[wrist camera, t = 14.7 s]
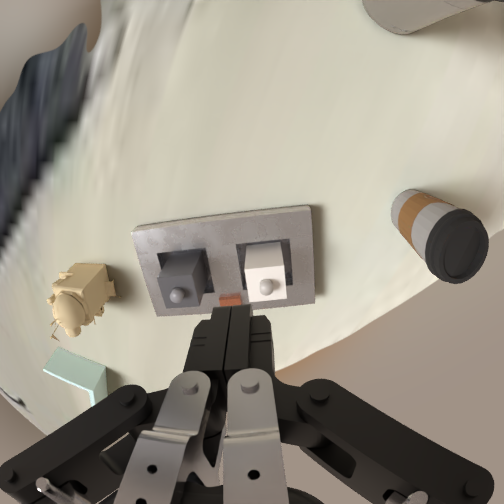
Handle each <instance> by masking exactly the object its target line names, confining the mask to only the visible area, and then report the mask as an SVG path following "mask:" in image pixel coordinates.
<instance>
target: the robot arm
mask: <svg viewBox="0 0 504 504" xmlns="http://www.w3.org/2000/svg"><path fill="white" fill-rule="evenodd" d="M491 1H499V2H504V0H362V2H363V5H364V8H365V10H366V11H367V13H368V14H369V16H370V17H371V18H372V19H373V20H374V21H375V22H376V23H377V24H378V25H380V26H381V27H383V28H384V29H386V30H388V31H391V32H393V33H397V34H409V33H412V32H415V31H418V30H419V29H421V28H424V27H426V26H428V25H431V24H433V23H435V22H438V21H440V20H443V19H445V18H448V17H450V16H453V15H455V14H458V13H460V12H463V11H466V10H468V9H471V8H474V7H477V6H479V5H482V4H485V3H488V2H491ZM226 412H228V433H227V436H225V435H226V429H227V428H226V424H225V420H226ZM127 432H129V434H128V435H127V436H126V437H124V438H123V439H122V440H120V441H119V442H117V443H116V444H115V445H113V446H112V447H110V448H109V449H107V450H106V451H102V450H103V449H105V448H106V447H108V446H109V445H111V444H112V443H113V442H115V441H116V440H118V439H119V438H120V437H122V436H123V435H125V434H126V433H127ZM281 442H282V443H286V444H291V445H297V446H299V447H300V449H301V450H302V451H303V452H305V453H306V454H307V455H308V456H310V457H311V458H312V459H313V460H314V461H316V462H317V463H318V464H319V465H321V466H322V467H323V468H325V469H326V470H327V471H328V472H330V473H331V474H332V475H334V476H335V477H336V478H338V479H339V480H340V481H342V482H343V483H344V484H346V485H347V486H348V487H350V488H351V489H353V490H354V491H355V492H357V493H358V494H360V495H361V496H362V497H364V498H365V499H367V500H368V501H370V502H371V503H373V504H487V503H488V501H489V499H490V498H491V496H492V494H493V491H494V480H493V478H492V475H491V474H490V472H489V471H488V470H486V469H485V468H483V467H481V466H479V465H477V464H475V463H473V462H471V461H469V460H467V459H465V458H463V457H461V456H459V455H457V454H455V453H453V452H451V451H450V450H448V449H446V448H444V447H442V446H440V445H438V444H437V443H435V442H433V441H431V440H429V439H427V438H426V437H424V436H422V435H420V434H418V433H417V432H415V431H413V430H412V429H410V428H408V427H407V426H405V425H403V424H401V423H400V422H398V421H396V420H395V419H393V418H391V417H390V416H388V415H386V414H385V413H383V412H381V411H380V410H378V409H376V408H375V407H373V406H371V405H370V404H368V403H367V402H365V401H363V400H362V399H360V398H359V397H357V396H355V395H354V394H352V393H351V392H349V391H347V390H346V389H344V388H343V387H341V386H340V385H338V384H337V383H335V382H333V381H331V380H327V379H314V380H311V381H308V382H306V383H304V384H303V385H302V386H301V387H297V386H291V385H287V384H284V383H282V382H281V381H279V380H278V379H277V378H276V377H275V364H274V348H273V339H272V331H271V323H270V321H269V320H268V319H267V317H266V316H265V315H260V316H253V311H252V305H251V304H243V305H233V306H220V307H213V311H212V315H211V320H201V322H200V323H199V324H198V325H197V326H196V327H195V329H194V333H193V336H192V340H191V343H190V347H189V351H188V355H187V358H186V362H185V366H184V370H183V373H181V374H179V375H178V376H176V377H175V378H174V379H173V380H172V382H171V383H170V386H169V388H167V389H164V390H161V391H156V392H152V393H146V391H145V390H144V389H143V388H142V387H141V386H138V385H126V386H123V387H121V388H119V389H117V390H116V391H114V392H113V393H111V394H110V395H109V396H107V397H106V398H104V399H103V400H101V401H100V402H98V403H97V404H95V405H94V406H92V407H91V408H89V409H88V410H86V411H85V412H83V413H82V414H80V415H79V416H77V417H76V418H74V419H73V420H71V421H70V422H68V423H67V424H65V425H64V426H62V427H60V428H59V429H57V430H56V431H54V432H53V433H51V434H50V435H48V436H47V437H45V438H43V439H42V440H40V441H39V442H37V443H35V444H34V445H32V446H31V447H29V448H28V449H26V450H24V451H23V452H21V453H19V454H18V455H16V456H15V457H13V458H11V459H10V460H8V461H6V462H5V463H4V464H3V465H1V467H0V488H1V489H2V490H3V491H4V492H6V493H7V494H8V495H10V496H11V497H13V498H14V499H16V500H17V501H18V502H19V503H20V504H96V503H97V502H99V501H100V500H102V499H103V498H105V497H106V496H107V495H109V494H111V493H112V492H113V491H115V490H116V489H118V488H119V489H118V490H116V491H115V492H113V493H112V494H111V495H110V496H108V497H107V498H105V499H104V500H103V501H101V502H100V503H99V504H324V503H322V502H321V501H320V500H319V499H317V498H316V497H314V496H312V495H310V494H308V493H306V492H303V491H301V490H298V489H294V488H290V487H287V485H286V478H285V470H284V463H283V456H282V448H281ZM101 451H102V452H101ZM222 451H223V485H220V480H219V467H220V462H221V456H222Z"/></svg>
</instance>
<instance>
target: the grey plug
mask: <svg viewBox="0 0 504 504" xmlns="http://www.w3.org/2000/svg"><path fill="white" fill-rule="evenodd" d="M207 280H208V278H207V273H206V269H205V264H204V259H203V255H202V251H193V252H184V253H175V254H171V255H170V256H169V258H168V260H167V261H166V263H165V265H164V266H163V268H162V270H161V271H160V273H159V275H158V277H157V281H158V284H159V287H160V291H161V294H162V297H163V300H164V303H165V307H166V309H168V308H184V307H198V306H200V304H201V301H202V297H203V294H204V290H205V287H206V284H207Z"/></svg>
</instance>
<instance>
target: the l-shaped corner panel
mask: <svg viewBox="0 0 504 504" xmlns="http://www.w3.org/2000/svg"><path fill="white" fill-rule="evenodd" d="M43 370H44V372H46V373H48V374H50V375H53V376H55V377H57V378H59V379H61V380H63V381H65V382H68V383H70V384H72V385H74V386H77V387H79V388H81V389H84V390H86V391H88V392H89V395H90V401H91V407H92V406H94V405H95V404H97V403H98V402H100V401H101V400H103V399H104V398H106V397H107V396H108V392H107V380H106V366H104V365H101V364H98V363H96V362H93V361H91V360H88V359H86V358H83V357H81V356H79V355H76V354H74V353H72V352H69V351H67V350H65V349H62V348H60V347H58V348H57V349H56V351H55V352H54V353H53V355H52V356H51V358H50V359H49V361H48V362H47V364H46V365H45V367H44V368H43Z"/></svg>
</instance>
